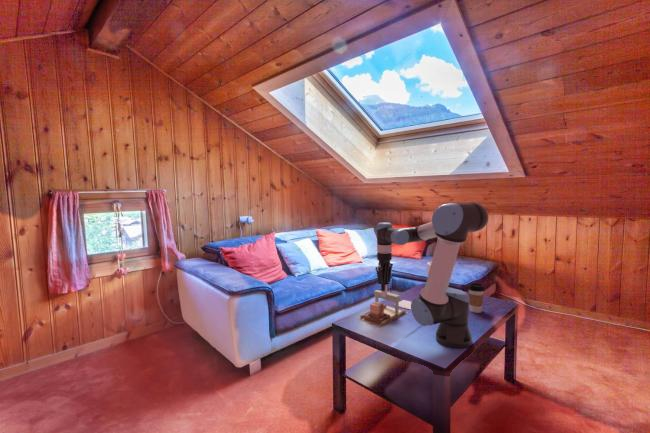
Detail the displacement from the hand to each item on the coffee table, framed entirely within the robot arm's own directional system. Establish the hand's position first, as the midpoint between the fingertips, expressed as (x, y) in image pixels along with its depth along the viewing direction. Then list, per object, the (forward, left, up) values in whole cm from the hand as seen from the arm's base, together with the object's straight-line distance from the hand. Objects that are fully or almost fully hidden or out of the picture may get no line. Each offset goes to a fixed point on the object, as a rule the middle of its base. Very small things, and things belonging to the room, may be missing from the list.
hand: (384, 296), depth 171 cm
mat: (+23, -11, -12) cm, 28 cm away
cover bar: (+2, -1, -9) cm, 9 cm away
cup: (+41, -28, -12) cm, 51 cm away
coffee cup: (+23, -48, -12) cm, 54 cm away
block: (-6, +3, -10) cm, 12 cm away
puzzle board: (0, 0, -12) cm, 12 cm away
